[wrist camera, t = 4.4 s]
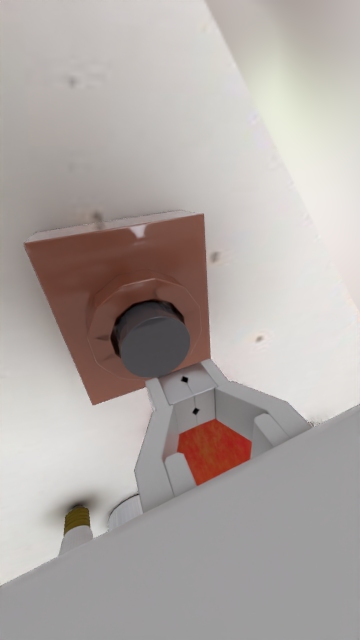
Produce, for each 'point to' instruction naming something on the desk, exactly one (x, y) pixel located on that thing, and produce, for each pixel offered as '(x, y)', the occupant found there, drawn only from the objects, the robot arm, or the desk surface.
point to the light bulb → (76, 529)
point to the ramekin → (125, 512)
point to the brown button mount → (122, 288)
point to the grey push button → (152, 340)
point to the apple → (213, 449)
